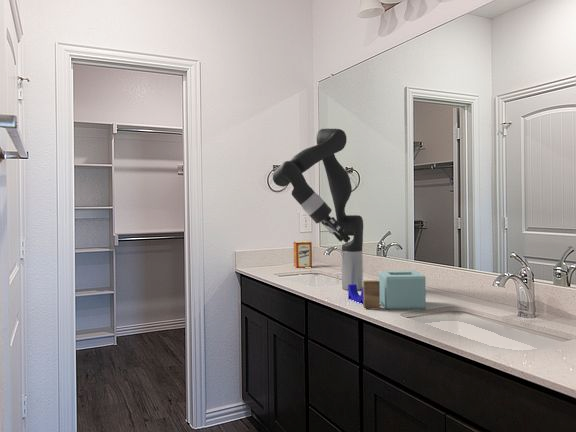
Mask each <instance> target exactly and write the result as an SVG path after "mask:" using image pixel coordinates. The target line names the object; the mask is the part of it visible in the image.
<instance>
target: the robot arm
mask: <svg viewBox="0 0 576 432" xmlns="http://www.w3.org/2000/svg"><path fill="white" fill-rule="evenodd" d="M347 138H348V137H347V134H346V132H345V130H343V129H340V128H320V129H319V130H318V132H317V133H316V145H313V146H310V147H307V148H304V149H303V150H301V151H300V152H298V153H297V154H296V155H295V154H294V156H292V158H291V159H290V160H286V161H284V162H283V163H281V164H280V166H278V168H276V169H275V170H274V171H273V174H272V180H273V183H274V184H275V185H276V186H278V187H282V188H283V187H286V186H289V185H290V184H291V186H292V187H293V189H292V190H291V196H292V197H293V199H294V200H295V201H296V203H298V204H299V205H300V207H302V209H303V210H304V212H305V213H306V214H307V215H308V216H309V217H310V218H311V220H313V222H314V223H315V224H320V223H321V225H323V226H324V228H325V229H326V230H327V231H328V232H329V234H331V235H333V236H334V237H335V238H336V239H337V240H338V241H339V242H343V241H344V242H345V243H343V244H342V245H341V281H342V282H341V287H342V288H341V289H343V290H346V291H348V285H351V284H356V285H357V291H361V289H363V281H364V278H363V277H364V276H363V275H364V274H363V272H364V271H363V270H364V269H363V263H364V262H363V243H364V239H363V238H364V220H363V217H362V216H361V215H358V214H356V215H353V214H348V215H347V214H346V206H347V203H348V201H349V200H350V197H351V194H352V192H353V187H352V183H351V177H350V175H349V173H348V172H347V171H346V169H345V168H344V167H343V166H342V165H341V163H340V162H339V161H338V159H337V157H336V154H337V153H339V152H341V151H342V150H344V149H345V147H346V144H347ZM319 162H322V163H323V166H324V169H325V173H326V178H327V183H328V186H329V191H330V194H331V197H332V202H333V206H334V211H335V217H336V218H335V217H334V216H332V217H331V216H330V214H331V212H332V210H333V209H332V208H330V206H329V205H328V203H326V202H325V201H324V199H322V197H321V196H320V195H319V194H318V193H316V192H315V190H314V189H313V188H312V187H311V186H310V185H309V184H308V182H307V179H306V177H304V174H303V173H305V172H306V171H308V170H309V169H310V168H312V167H313V166H314V165H316V164H317V163H319ZM350 236H351V237H352V240H351V237H350ZM350 240H351V241H350Z"/></svg>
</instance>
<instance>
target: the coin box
mask: <svg viewBox="0 0 576 432" xmlns="http://www.w3.org/2000/svg"><path fill="white" fill-rule="evenodd" d="M378 279H379V280H378V281H379V282H380V305H382V306H383V307H384V309H395V310H394V311H397V310H399V311H400V310H401V311H402V310H404V311H405V310H413V311H414V310H415V311H417V310H427V309H426V308H427V305H426V304H427V303H426V301H427V300H426V297H427V296H426V293H427V292H426V287H427V285H426V275H423V274H422V273H420V272H418V271H417V270H379V271H378ZM396 309H397V310H396Z"/></svg>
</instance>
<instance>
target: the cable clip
mask: <svg viewBox="0 0 576 432" xmlns="http://www.w3.org/2000/svg"><path fill="white" fill-rule="evenodd" d="M358 291H359V290H357V285H356V284H351V285H348V290H347V295H348V296H347V297H348V298H347V299H348V300H350V299H351V300H350V301H352V300H354V301H353V302H355V301H356V302H355V303H357V302H359V303H358V304H360V303H362V304H363V289H361V290H360V293H359V292H358ZM362 304H361V305H362Z"/></svg>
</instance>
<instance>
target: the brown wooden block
mask: <svg viewBox="0 0 576 432" xmlns="http://www.w3.org/2000/svg"><path fill="white" fill-rule="evenodd" d="M362 306H363V307H364V308H380V309H381V307H380V306H381V303H380V282H379V280H378V279H377V280H375V279H373V280H372V279H371V280H370V279H369V280H363V305H362ZM364 308H363V309H364Z"/></svg>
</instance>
